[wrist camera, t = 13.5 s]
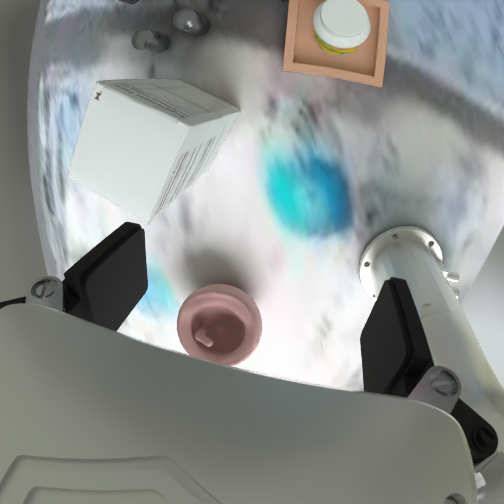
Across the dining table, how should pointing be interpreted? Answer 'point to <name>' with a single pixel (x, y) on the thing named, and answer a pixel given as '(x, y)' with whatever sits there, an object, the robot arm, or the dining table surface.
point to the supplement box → (148, 142)
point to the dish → (339, 67)
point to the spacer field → (161, 42)
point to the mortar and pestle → (219, 324)
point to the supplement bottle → (340, 26)
